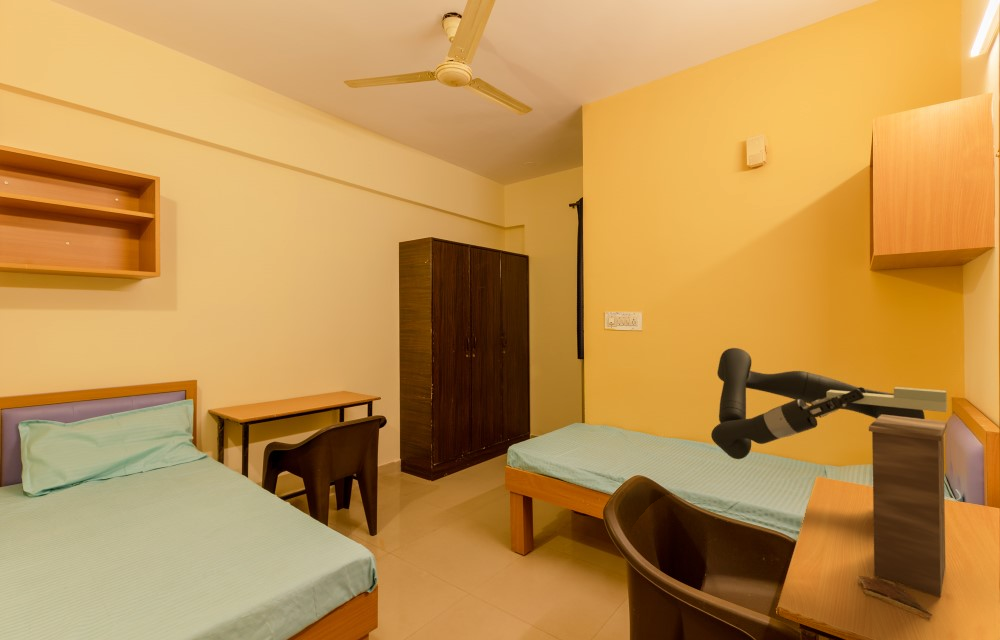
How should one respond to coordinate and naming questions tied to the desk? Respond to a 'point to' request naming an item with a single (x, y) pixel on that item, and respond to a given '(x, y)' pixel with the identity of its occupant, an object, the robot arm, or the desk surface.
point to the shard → (892, 595)
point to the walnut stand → (909, 501)
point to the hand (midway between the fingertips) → (863, 392)
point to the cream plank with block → (904, 398)
